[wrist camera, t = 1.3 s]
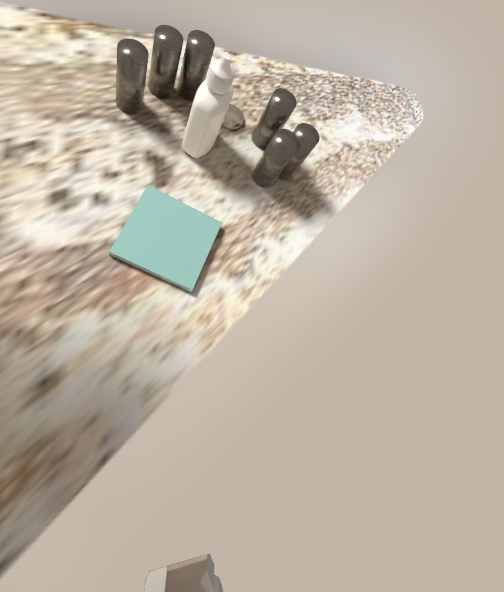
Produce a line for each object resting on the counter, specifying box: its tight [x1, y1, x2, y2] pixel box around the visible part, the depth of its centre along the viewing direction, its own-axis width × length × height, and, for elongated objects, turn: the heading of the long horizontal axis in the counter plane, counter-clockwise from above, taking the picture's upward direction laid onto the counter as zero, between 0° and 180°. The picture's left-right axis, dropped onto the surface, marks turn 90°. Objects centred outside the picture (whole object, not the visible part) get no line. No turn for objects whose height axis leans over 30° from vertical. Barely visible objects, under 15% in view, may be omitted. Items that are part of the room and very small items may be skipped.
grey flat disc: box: [222, 104, 244, 130], centre depth 48 cm, size 4×4×1 cm
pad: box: [109, 185, 222, 292], centre depth 40 cm, size 9×9×1 cm
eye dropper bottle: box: [182, 54, 235, 158], centre depth 40 cm, size 4×6×12 cm
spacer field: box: [116, 25, 319, 187], centre depth 44 cm, size 23×10×7 cm, turn 71°
